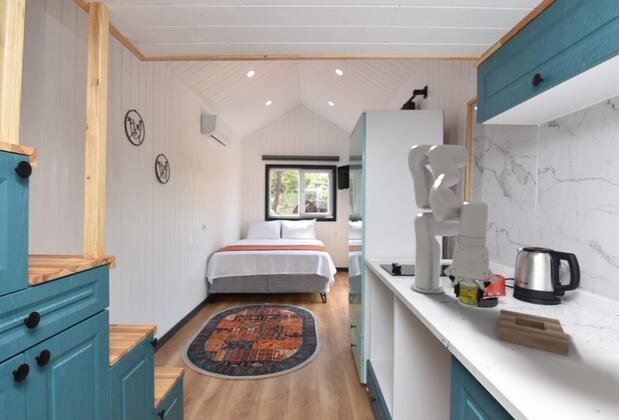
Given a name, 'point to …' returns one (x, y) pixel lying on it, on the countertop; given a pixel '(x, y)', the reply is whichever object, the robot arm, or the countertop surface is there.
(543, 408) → the countertop surface
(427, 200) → the robot arm
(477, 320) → the countertop surface
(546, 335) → the bottle caddy
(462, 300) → the supplement bottle
